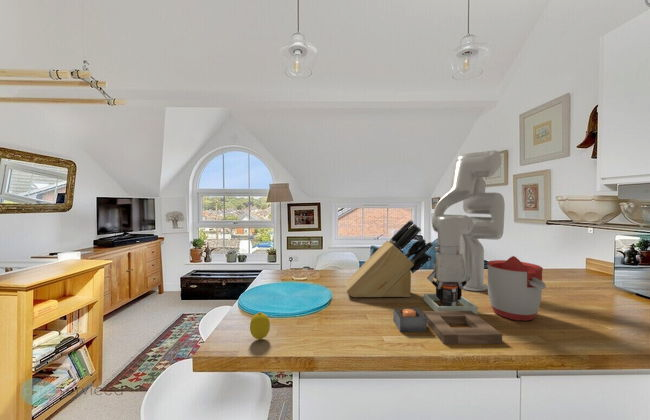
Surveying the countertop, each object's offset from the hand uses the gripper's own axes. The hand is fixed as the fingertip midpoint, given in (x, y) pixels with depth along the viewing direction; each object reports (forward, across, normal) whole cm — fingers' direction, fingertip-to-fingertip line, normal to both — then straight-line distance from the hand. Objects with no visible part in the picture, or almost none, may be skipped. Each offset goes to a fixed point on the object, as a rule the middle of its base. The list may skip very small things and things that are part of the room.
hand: (448, 298), depth 100 cm
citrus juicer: (+3, +19, -8) cm, 21 cm away
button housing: (+3, -19, -15) cm, 24 cm away
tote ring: (+3, 0, 0) cm, 3 cm away
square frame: (+3, -5, -18) cm, 19 cm away
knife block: (+3, -19, +15) cm, 24 cm away
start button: (+3, -19, -15) cm, 24 cm away
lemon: (+3, -64, -23) cm, 68 cm away
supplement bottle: (+3, 0, 0) cm, 3 cm away
